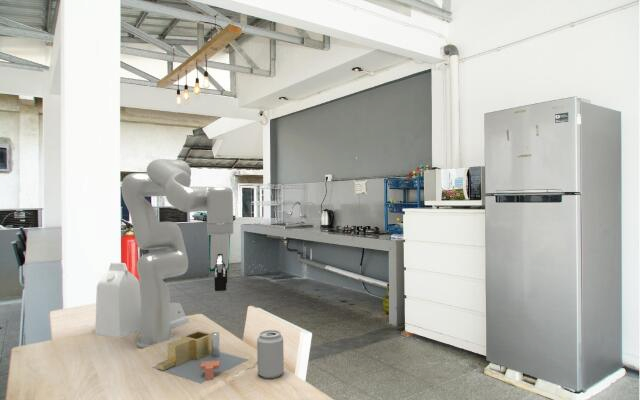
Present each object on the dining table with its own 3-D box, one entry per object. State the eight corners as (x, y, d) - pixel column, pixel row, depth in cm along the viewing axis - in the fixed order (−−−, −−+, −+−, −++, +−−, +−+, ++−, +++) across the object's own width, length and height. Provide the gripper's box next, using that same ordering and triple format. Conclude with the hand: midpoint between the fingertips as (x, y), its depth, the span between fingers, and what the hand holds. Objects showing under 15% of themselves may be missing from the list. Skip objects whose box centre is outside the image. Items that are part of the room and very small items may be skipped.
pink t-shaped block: (202, 377, 124) (201, 361, 124) (220, 376, 125) (220, 360, 124) (199, 385, 119) (199, 368, 119) (218, 384, 120) (218, 367, 119)
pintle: (210, 361, 136) (209, 333, 136) (215, 358, 138) (215, 331, 138) (215, 362, 135) (215, 335, 134) (221, 360, 137) (220, 333, 136)
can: (287, 370, 128) (287, 329, 128) (277, 381, 121) (276, 338, 121) (264, 367, 131) (264, 327, 130) (252, 377, 124) (252, 335, 123)
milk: (143, 328, 170) (141, 261, 169) (120, 337, 159) (118, 266, 158) (119, 325, 174) (117, 260, 173) (95, 334, 163) (93, 264, 163)
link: (198, 348, 143) (198, 330, 142) (214, 352, 139) (213, 334, 139) (152, 367, 128) (152, 347, 128) (168, 372, 124) (167, 351, 124)
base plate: (152, 372, 128) (152, 367, 128) (201, 351, 144) (201, 347, 144) (200, 388, 117) (200, 383, 117) (248, 364, 133) (248, 359, 133)
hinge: (156, 334, 162) (149, 308, 164) (148, 336, 164) (141, 310, 166) (189, 322, 177) (183, 298, 178) (182, 324, 179) (175, 300, 180)
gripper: (209, 227, 137) (210, 281, 137) (204, 232, 120) (205, 294, 120) (233, 226, 138) (234, 280, 138) (232, 231, 121) (233, 293, 121)
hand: (221, 286), depth 129 cm, fingers open, 9 cm apart
